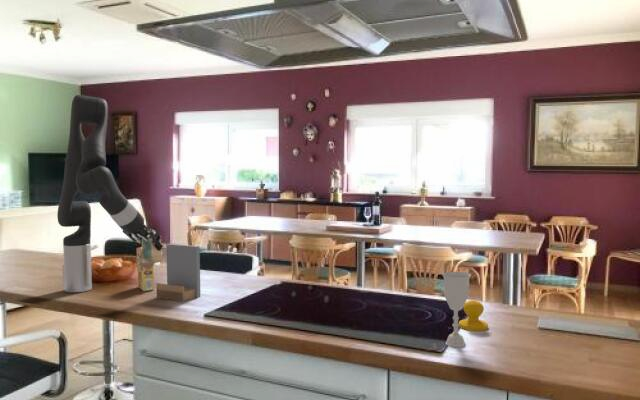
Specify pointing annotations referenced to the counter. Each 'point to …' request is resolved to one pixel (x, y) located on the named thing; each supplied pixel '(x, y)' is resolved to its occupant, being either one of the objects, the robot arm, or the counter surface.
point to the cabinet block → (150, 252)
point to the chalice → (456, 301)
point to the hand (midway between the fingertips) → (154, 247)
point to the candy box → (144, 273)
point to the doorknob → (473, 317)
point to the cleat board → (181, 273)
